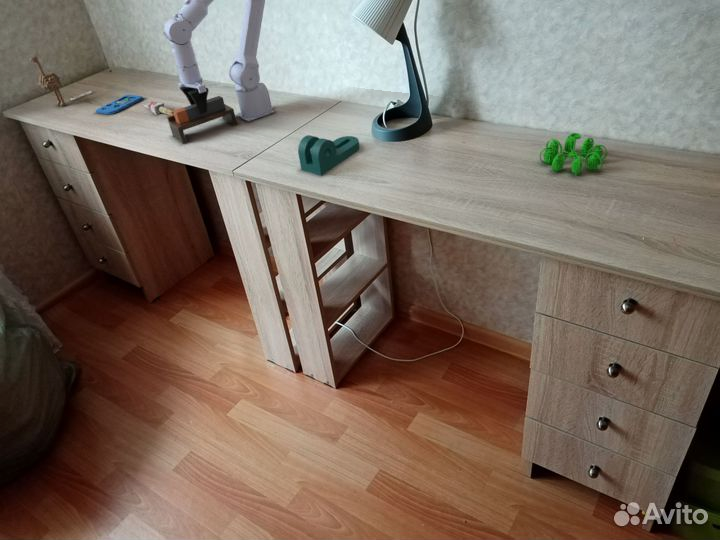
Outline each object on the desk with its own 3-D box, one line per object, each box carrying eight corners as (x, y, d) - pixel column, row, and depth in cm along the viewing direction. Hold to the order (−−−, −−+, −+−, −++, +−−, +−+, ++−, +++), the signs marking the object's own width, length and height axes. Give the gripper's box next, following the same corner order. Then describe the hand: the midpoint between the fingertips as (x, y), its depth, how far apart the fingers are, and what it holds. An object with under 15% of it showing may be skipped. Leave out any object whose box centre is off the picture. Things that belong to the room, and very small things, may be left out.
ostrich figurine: (57, 110, 200) (34, 59, 189) (47, 107, 203) (24, 57, 192) (97, 93, 210) (78, 44, 199) (88, 91, 213) (68, 43, 202)
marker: (221, 106, 171) (218, 95, 169) (225, 108, 169) (222, 97, 167) (176, 121, 165) (172, 110, 163) (179, 124, 163) (176, 113, 161)
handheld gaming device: (94, 109, 192) (126, 93, 202) (95, 112, 193) (127, 96, 203) (111, 111, 189) (142, 95, 199) (112, 114, 190) (143, 98, 200)
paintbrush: (148, 96, 191) (181, 109, 180) (151, 104, 193) (183, 117, 182) (138, 100, 189) (171, 114, 178) (141, 108, 191) (173, 122, 180)
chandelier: (525, 164, 133) (527, 137, 129) (565, 142, 139) (568, 116, 135) (579, 185, 123) (584, 156, 119) (619, 161, 129) (625, 133, 125)
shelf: (226, 117, 177) (221, 98, 173) (237, 124, 172) (232, 104, 168) (173, 136, 169) (166, 116, 166) (183, 143, 164) (176, 124, 160)
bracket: (321, 175, 139) (316, 146, 134) (301, 170, 143) (296, 141, 138) (364, 146, 150) (361, 118, 145) (345, 142, 153) (341, 114, 148)
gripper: (164, 63, 161) (178, 109, 169) (183, 74, 151) (197, 121, 160) (187, 57, 164) (199, 101, 172) (207, 66, 154) (219, 113, 163)
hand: (200, 110), depth 166 cm, fingers open, 4 cm apart
